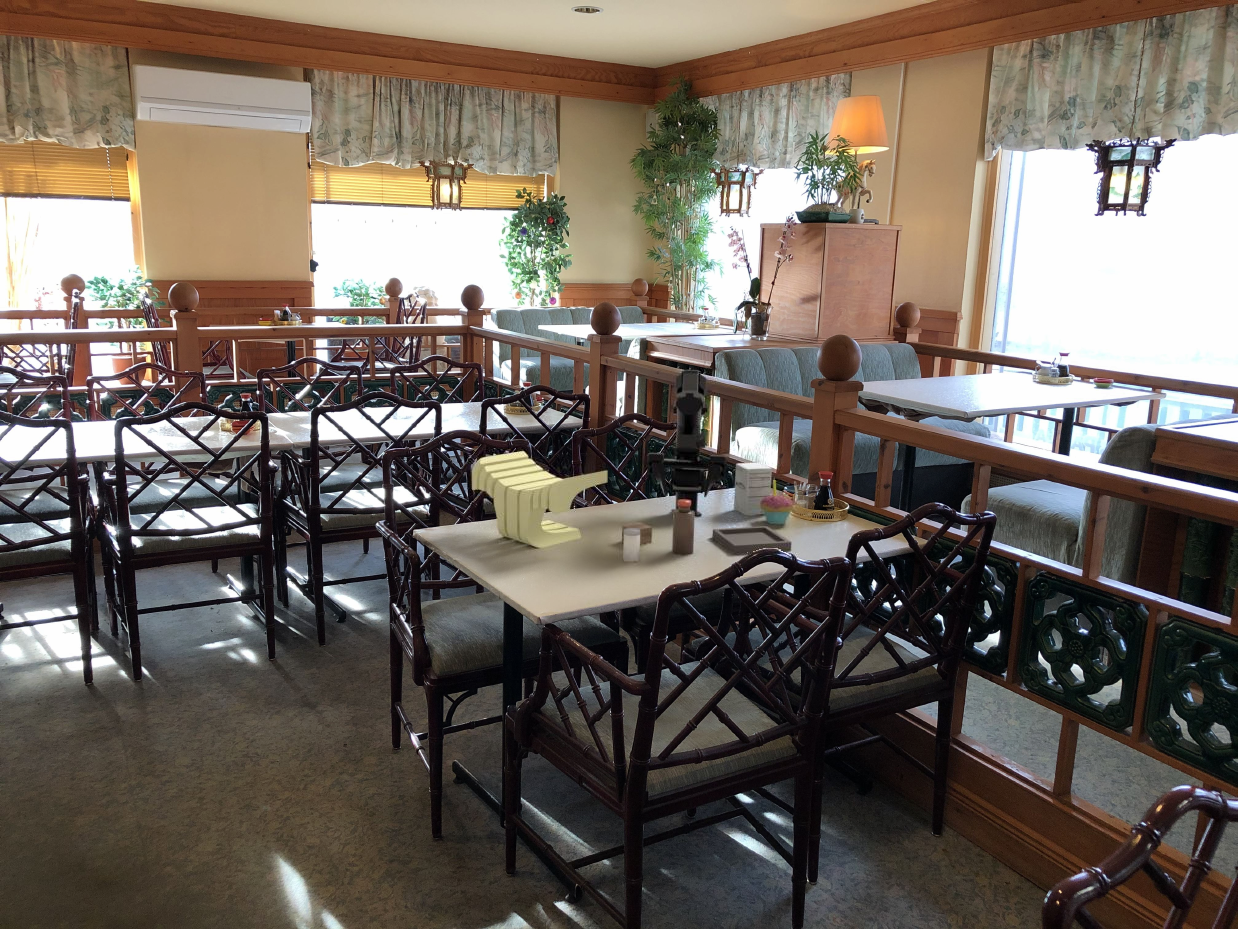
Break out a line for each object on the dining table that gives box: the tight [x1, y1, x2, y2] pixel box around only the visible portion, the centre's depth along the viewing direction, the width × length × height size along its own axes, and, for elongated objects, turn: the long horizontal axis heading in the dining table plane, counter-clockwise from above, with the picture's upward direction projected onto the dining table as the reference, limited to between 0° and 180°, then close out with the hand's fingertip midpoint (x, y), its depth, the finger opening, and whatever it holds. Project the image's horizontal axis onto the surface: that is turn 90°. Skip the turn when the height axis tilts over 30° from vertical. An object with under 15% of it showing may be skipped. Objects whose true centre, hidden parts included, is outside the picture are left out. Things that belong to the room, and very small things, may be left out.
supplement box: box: [733, 462, 773, 516], centre depth 256 cm, size 7×7×13 cm
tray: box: [712, 525, 792, 555], centre depth 228 cm, size 14×14×2 cm
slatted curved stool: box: [471, 450, 608, 549], centre depth 228 cm, size 30×16×18 cm, turn 45°
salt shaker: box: [622, 528, 641, 563], centre depth 214 cm, size 4×4×7 cm
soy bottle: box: [671, 499, 696, 556], centre depth 219 cm, size 5×5×12 cm
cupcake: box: [760, 477, 794, 525], centre depth 247 cm, size 9×8×12 cm
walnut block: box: [621, 521, 653, 546], centre depth 228 cm, size 5×5×4 cm
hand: (685, 495), depth 224 cm, fingers open, 9 cm apart
